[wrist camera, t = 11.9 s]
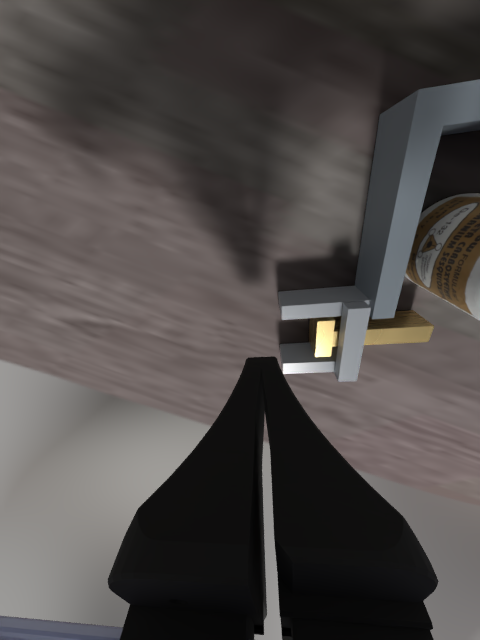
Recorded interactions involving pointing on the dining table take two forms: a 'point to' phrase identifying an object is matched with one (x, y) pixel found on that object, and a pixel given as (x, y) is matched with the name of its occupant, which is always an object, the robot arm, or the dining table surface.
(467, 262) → the pill bottle
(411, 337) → the lock bar
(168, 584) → the robot arm
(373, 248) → the dock bay
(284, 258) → the dining table surface
